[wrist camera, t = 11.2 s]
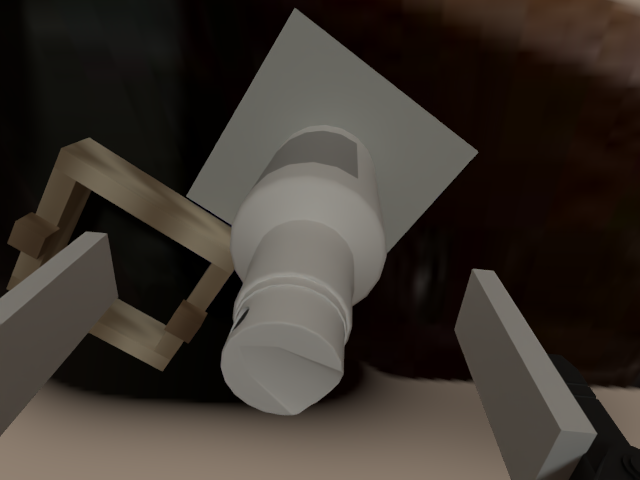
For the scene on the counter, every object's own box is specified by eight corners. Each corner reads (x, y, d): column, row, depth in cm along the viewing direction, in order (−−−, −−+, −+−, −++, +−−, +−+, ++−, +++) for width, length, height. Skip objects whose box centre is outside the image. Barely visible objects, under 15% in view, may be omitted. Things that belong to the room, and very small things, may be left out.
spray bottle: (314, 100, 25) (246, 209, 9) (396, 168, 27) (462, 365, 11) (253, 182, 28) (117, 378, 12) (331, 240, 29) (305, 484, 13)
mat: (189, 193, 29) (186, 196, 29) (295, 8, 24) (294, 8, 23) (346, 293, 32) (346, 297, 32) (475, 149, 26) (478, 152, 26)
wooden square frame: (31, 267, 33) (-13, 298, 29) (85, 135, 28) (40, 151, 24) (179, 347, 36) (157, 386, 32) (254, 241, 31) (239, 272, 27)
